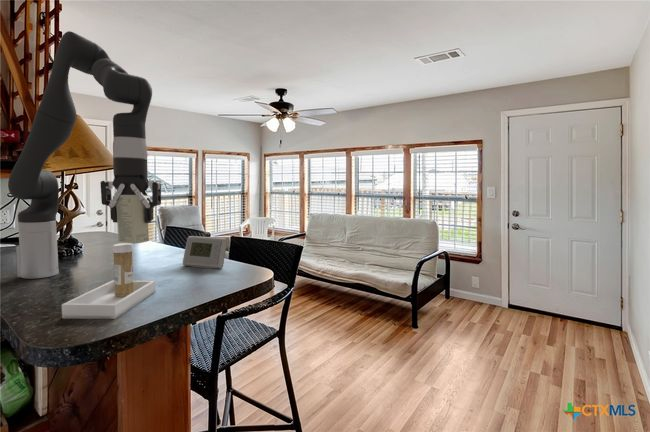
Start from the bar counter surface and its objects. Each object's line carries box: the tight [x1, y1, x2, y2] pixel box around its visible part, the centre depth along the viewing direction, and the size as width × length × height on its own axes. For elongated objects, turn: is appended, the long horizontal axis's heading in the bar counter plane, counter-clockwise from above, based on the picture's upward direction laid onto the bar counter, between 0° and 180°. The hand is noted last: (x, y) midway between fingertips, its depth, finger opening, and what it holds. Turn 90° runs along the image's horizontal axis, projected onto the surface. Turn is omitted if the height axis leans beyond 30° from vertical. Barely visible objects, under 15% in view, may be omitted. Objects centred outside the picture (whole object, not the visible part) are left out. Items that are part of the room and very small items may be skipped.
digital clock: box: [182, 235, 228, 270], centre depth 129 cm, size 16×9×11 cm, turn 65°
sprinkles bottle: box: [112, 242, 134, 297], centre depth 93 cm, size 5×5×14 cm
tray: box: [61, 279, 157, 320], centre depth 88 cm, size 12×20×3 cm, turn 1°
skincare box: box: [116, 195, 150, 244], centre depth 90 cm, size 6×4×12 cm
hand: (132, 222), depth 90 cm, fingers closed on skincare box, 7 cm apart
